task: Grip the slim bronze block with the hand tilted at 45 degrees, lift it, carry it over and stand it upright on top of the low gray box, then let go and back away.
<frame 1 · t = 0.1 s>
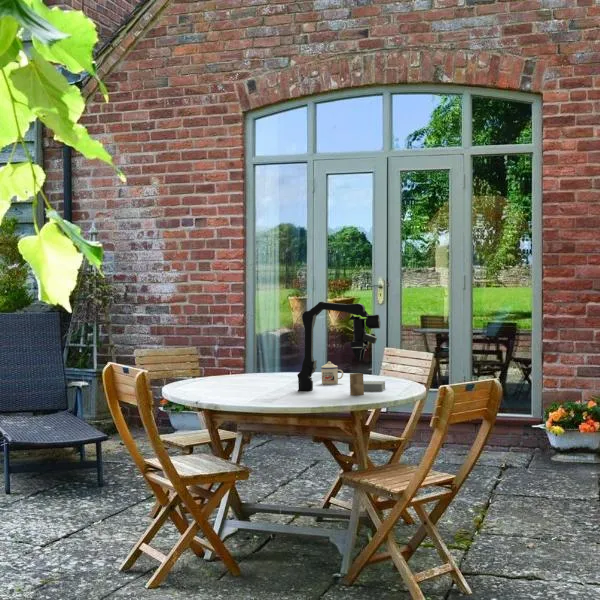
hand: (360, 360, 415), 15 cm above the table, tool pointing down, fingers open, 9 cm apart
bronze block: (357, 394, 398), on the table
gray box: (371, 390, 416), on the table
teacup with lid: (332, 383, 449), on the table
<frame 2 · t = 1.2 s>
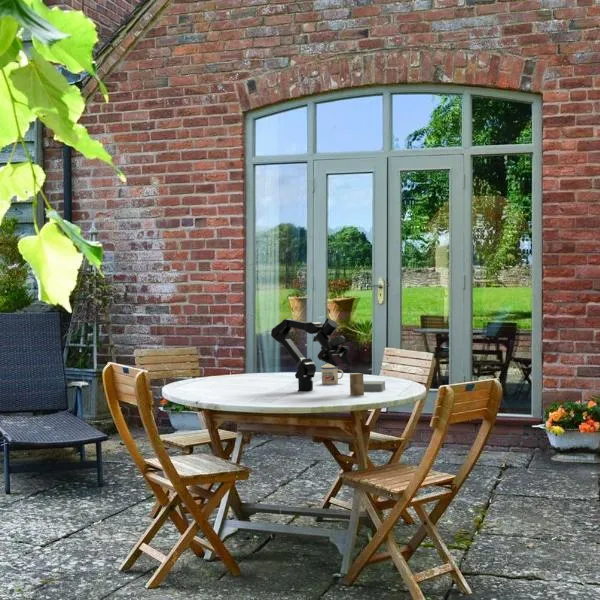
hand: (343, 365, 404), 13 cm above the table, tool tilted 45°, fingers open, 9 cm apart
nothing on the table moved.
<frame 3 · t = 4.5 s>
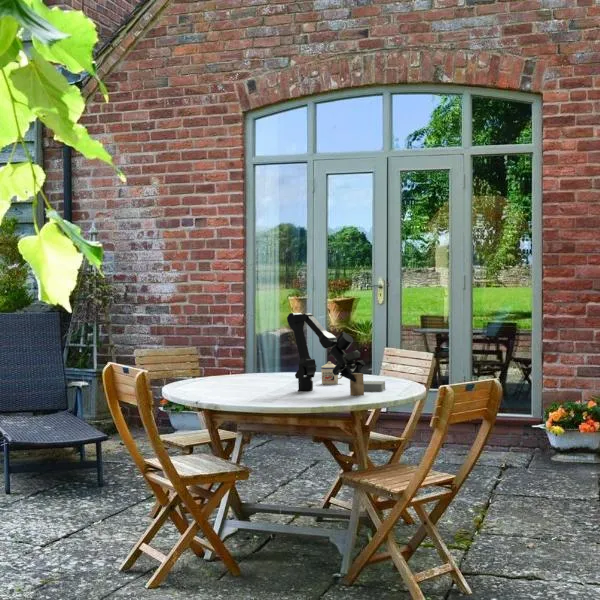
hand: (358, 380, 397), 7 cm above the table, tool tilted 45°, fingers closed on bronze block, 4 cm apart
bronze block: (357, 394, 398), on the table, touching gripper
everything else where it was.
when the fingers open (12 cm above the table, at t = 10.7 s): bronze block drops 1 cm, point 4 cm above the table.
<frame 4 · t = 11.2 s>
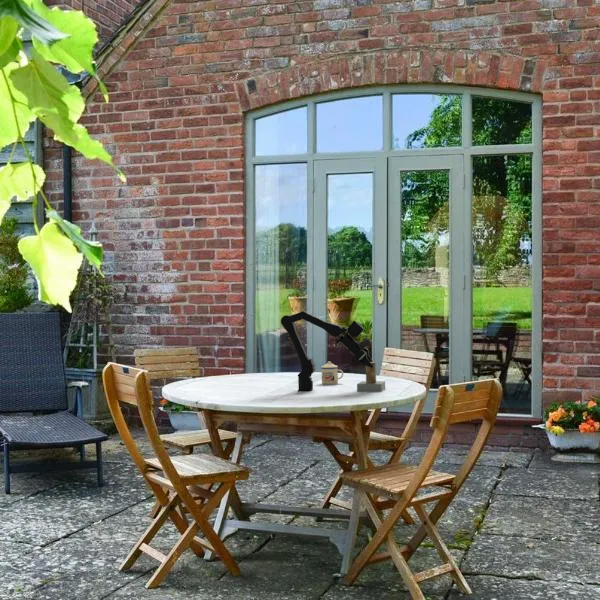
hand: (373, 366, 415), 12 cm above the table, tool tilted 45°, fingers open, 9 cm apart
bronze block: (371, 382, 416), point 4 cm above the table
everything else where it was.
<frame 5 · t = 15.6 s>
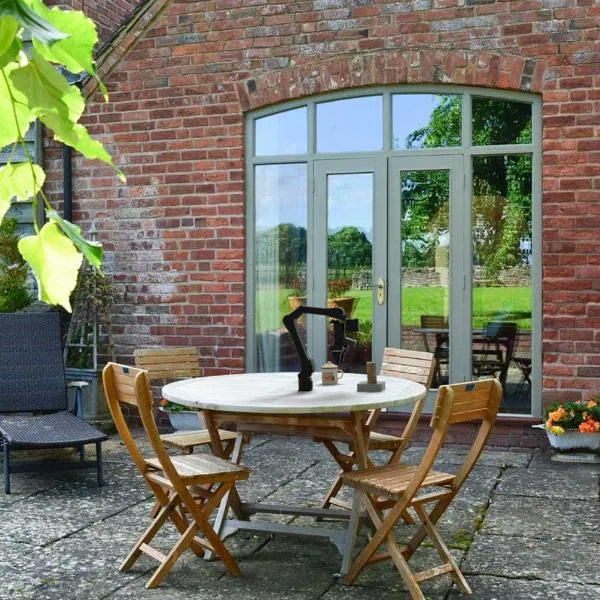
hand: (340, 364, 417), 13 cm above the table, tool pointing down, fingers open, 9 cm apart
bronze block: (372, 382, 416), point 4 cm above the table, touching gray box
gray box: (371, 390, 416), on the table, touching bronze block
everything else where it was.
at the end: bronze block inside the target area on the gray box (0.4 cm from its centre), point 4.1 cm above the gray box's base; bronze block tilted 2°; the gripper is holding nothing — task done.
